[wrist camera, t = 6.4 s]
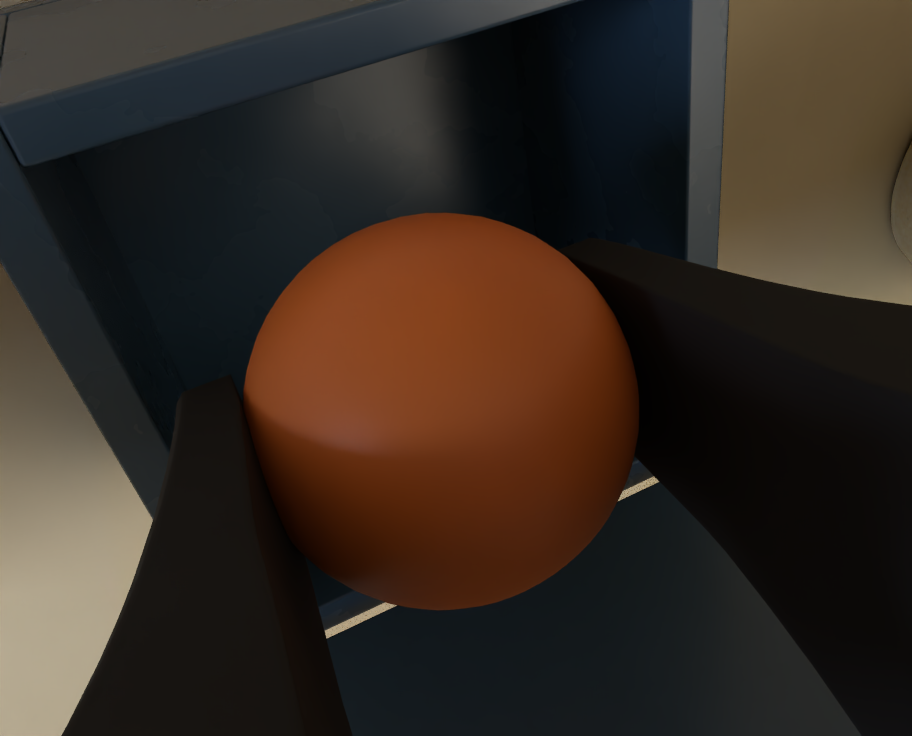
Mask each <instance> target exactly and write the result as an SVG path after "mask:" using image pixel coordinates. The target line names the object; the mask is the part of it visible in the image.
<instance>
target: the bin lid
mask: <svg viewBox="0 0 912 736" xmlns="http://www.w3.org/2000/svg"><path fill="white" fill-rule="evenodd" d="M327 643H328V647H329V651H330V655H331V658H332V662H333V666H334V670H335V674H336V678H337V682H338V686H339V690H340V694H341V697H342V701H343V705H344V708H345V711H346V715H347V718H348V721H349V725H350V728H351V731H352V735H353V736H861V734H860V733H859V731H858V730H857V728H856V727H855V726H854V724H853V723H852V721H851V720H850V718H849V717H848V716H847V714H846V713H845V711H844V710H843V708H842V707H841V706H840V704H839V703H838V701H837V700H836V698H835V697H834V695H833V694H832V693H831V691H830V690H829V688H828V687H827V685H826V684H825V683H824V681H823V680H822V678H821V677H820V675H819V674H818V673H817V671H816V670H815V668H814V667H813V665H812V664H811V663H810V661H809V660H808V659H807V657H806V656H805V655H804V653H803V652H802V651H801V649H800V648H799V647H798V645H797V644H796V643H795V641H794V640H793V639H792V637H791V636H790V634H789V633H788V632H787V630H786V629H785V628H784V626H783V625H782V624H781V622H780V621H779V620H778V618H777V617H776V616H775V614H774V613H773V612H772V610H771V609H770V608H769V606H768V605H767V604H766V602H765V601H764V600H763V599H762V597H761V596H760V595H759V593H758V592H757V591H756V590H755V588H754V587H753V586H752V585H751V583H750V582H749V581H748V579H747V578H746V577H745V576H744V574H743V573H742V572H741V571H740V569H739V568H738V567H737V565H736V564H735V563H734V562H733V560H732V559H731V558H730V557H729V555H728V554H727V553H726V551H725V550H724V549H723V548H722V547H721V546H720V545H719V544H718V542H717V541H716V540H715V539H714V538H713V537H712V536H711V535H710V533H709V532H708V531H707V530H706V529H705V528H704V527H703V526H702V525H701V524H700V523H699V522H698V520H697V519H696V518H695V517H694V516H693V515H692V514H691V513H690V512H689V511H688V510H687V509H686V508H685V507H684V506H683V505H682V504H681V503H680V502H679V501H678V500H677V499H676V498H675V497H674V496H673V495H672V494H671V493H670V492H669V491H668V490H667V489H666V488H665V487H664V486H663V485H662V484H661V483H660V482H658V483H656V484H654V485H652V486H650V487H648V488H646V489H643V490H641V491H639V492H637V493H635V494H633V495H631V496H629V497H626V498H624V499H622V500H620V501H618V502H617V504H616V506H615V507H614V509H613V511H612V513H611V515H610V516H609V518H608V520H607V521H606V522H605V524H604V525H603V527H602V528H601V530H600V531H599V532H598V533H597V535H596V536H595V537H594V538H593V540H592V541H591V542H590V543H589V544H588V545H587V546H586V547H585V548H584V549H583V550H582V551H581V552H580V553H579V554H578V555H577V556H576V557H575V558H574V559H573V560H572V561H570V562H569V563H568V564H567V565H566V566H564V567H563V568H562V569H560V570H559V571H558V572H556V573H555V574H554V575H552V576H551V577H549V578H548V579H546V580H544V581H543V582H541V583H540V584H538V585H536V586H534V587H532V588H530V589H528V590H527V591H524V592H522V593H520V594H518V595H515V596H513V597H511V598H508V599H505V600H502V601H499V602H496V603H492V604H488V605H484V606H478V607H471V608H464V609H455V610H427V609H417V608H410V607H403V606H399V605H397V606H395V607H393V608H391V609H389V610H387V611H385V612H383V613H380V614H378V615H376V616H374V617H372V618H370V619H368V620H366V621H363V622H361V623H359V624H357V625H355V626H353V627H351V628H349V629H347V630H344V631H342V632H340V633H338V634H336V635H334V636H332V637H330V638H327Z"/></svg>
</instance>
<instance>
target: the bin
mask: <svg viewBox="0 0 912 736" xmlns="http://www.w3.org/2000/svg"><path fill="white" fill-rule="evenodd" d="M728 15H729V0H33V1H29V2H25V3H21V4H17V5H13V6H10V7H6V8H2V9H0V263H1V264H2V266H3V268H4V269H5V271H6V273H7V274H8V276H9V278H10V280H11V281H12V283H13V285H14V286H15V288H16V290H17V291H18V293H19V295H20V296H21V298H22V300H23V301H24V303H25V305H26V307H27V308H28V310H29V312H30V313H31V315H32V317H33V318H34V320H35V322H36V323H37V325H38V327H39V328H40V330H41V332H42V333H43V335H44V337H45V339H46V340H47V342H48V344H49V345H50V347H51V349H52V350H53V352H54V354H55V355H56V357H57V359H58V360H59V362H60V364H61V365H62V367H63V369H64V371H65V372H66V374H67V376H68V377H69V379H70V381H71V382H72V384H73V386H74V387H75V389H76V391H77V392H78V394H79V396H80V397H81V399H82V401H83V403H84V404H85V406H86V408H87V409H88V411H89V413H90V414H91V416H92V418H93V419H94V421H95V423H96V424H97V426H98V428H99V430H100V431H101V433H102V435H103V436H104V438H105V440H106V441H107V443H108V445H109V446H110V448H111V450H112V451H113V453H114V455H115V456H116V458H117V460H118V462H119V463H120V465H121V467H122V468H123V470H124V472H125V473H126V475H127V477H128V478H129V480H130V482H131V483H132V485H133V487H134V488H135V490H136V492H137V494H138V495H139V497H140V499H141V500H142V502H143V504H144V505H145V507H146V509H147V510H148V512H149V514H150V515H151V517H152V519H153V518H154V515H155V511H156V507H157V503H158V499H159V496H160V492H161V488H162V484H163V480H164V476H165V472H166V468H167V463H168V458H169V453H170V448H171V443H172V438H173V431H174V425H175V417H176V406H177V402H178V400H179V398H180V396H181V394H182V392H184V391H187V390H190V389H192V388H195V387H198V386H200V385H203V384H206V383H208V382H211V381H213V380H216V379H219V378H221V377H224V376H227V375H229V374H231V377H232V379H233V381H234V384H235V386H236V388H237V390H238V393H239V395H240V397H241V400H242V402H243V390H244V384H245V378H246V371H247V367H248V364H249V360H250V357H251V354H252V350H253V347H254V344H255V341H256V338H257V335H258V333H259V331H260V329H261V327H262V325H263V323H264V320H265V318H266V316H267V315H268V313H269V312H270V310H271V308H272V307H273V305H274V304H275V302H276V301H277V299H278V298H279V296H280V295H281V293H282V292H283V291H284V290H285V288H286V287H287V286H288V285H289V284H290V282H291V281H292V280H293V279H294V278H295V276H296V275H297V274H298V273H299V272H300V271H301V270H302V269H303V268H304V267H306V266H307V265H308V264H309V263H310V262H311V261H312V260H313V259H314V258H315V257H317V256H318V255H319V254H321V253H322V252H323V251H325V250H326V249H328V248H329V247H330V246H332V245H333V244H335V243H336V242H338V241H340V240H342V239H344V238H345V237H347V236H349V235H351V234H352V233H355V232H357V231H359V230H362V229H364V228H366V227H369V226H371V225H374V224H377V223H381V222H384V221H388V220H391V219H395V218H398V217H402V216H408V215H415V214H422V213H456V214H465V215H473V216H481V217H485V218H488V219H492V220H496V221H499V222H503V223H505V224H508V225H511V226H514V227H516V228H518V229H521V230H523V231H525V232H527V233H529V234H532V235H534V236H536V237H537V238H539V239H540V240H542V241H543V242H545V243H547V244H548V245H550V246H551V247H553V248H554V249H556V250H559V249H561V248H564V247H567V246H569V245H572V244H575V243H577V242H580V241H583V240H585V239H588V238H597V239H602V240H607V241H612V242H616V243H620V244H625V245H629V246H632V247H636V248H640V249H644V250H648V251H651V252H655V253H659V254H663V255H666V256H670V257H674V258H677V259H681V260H685V261H688V262H692V263H696V264H700V265H703V266H707V267H711V268H715V269H717V260H718V237H719V215H720V193H721V171H722V148H723V126H724V104H725V82H726V59H727V37H728ZM653 476H654V475H653V474H652V473H651V472H650V471H649V470H648V469H647V468H646V467H645V466H644V465H643V464H642V463H641V462H640V461H639V460H638V459H637V458H636V457H635V456H634V459H633V463H632V467H631V470H630V473H629V476H628V480H627V482H626V484H625V486H624V489H623V491H624V490H626V489H628V488H630V487H632V486H634V485H636V484H638V483H641V482H643V481H645V480H647V479H649V478H651V477H653ZM305 558H306V562H307V565H308V569H309V573H310V577H311V581H312V585H313V588H314V592H315V596H316V600H317V604H318V608H319V612H320V616H321V619H322V623H323V627H324V631H325V630H327V629H329V628H331V627H333V626H336V625H338V624H340V623H342V622H344V621H346V620H348V619H350V618H353V617H355V616H357V615H359V614H361V613H363V612H365V611H368V610H370V609H372V608H374V607H376V606H378V605H380V604H382V603H385V602H384V601H381V600H378V599H375V598H372V597H370V596H367V595H364V594H362V593H359V592H356V591H355V590H353V589H351V588H349V587H348V586H346V585H344V584H342V583H341V582H339V581H337V580H336V579H334V578H332V577H331V576H329V575H327V574H326V573H324V572H323V571H322V570H321V569H319V568H318V567H317V566H316V565H315V564H313V563H312V562H311V561H310V560H309V559H308V558H307V557H306V556H305Z"/></svg>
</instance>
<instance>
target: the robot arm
mask: <svg viewBox="0 0 912 736" xmlns="http://www.w3.org/2000/svg"><path fill="white" fill-rule="evenodd" d="M557 251H558V252H560V253H561V254H563V255H564V256H566V257H567V258H568V259H569V260H570V261H571V262H572V263H573V264H574V265H575V266H576V267H577V268H578V269H579V270H580V271H581V272H582V273H583V274H584V275H585V276H586V277H587V278H588V279H589V280H590V281H591V282H592V283H593V284H594V285H595V287H596V288H597V289H598V291H599V292H600V294H601V295H602V296H603V298H604V299H605V301H606V302H607V304H608V305H609V307H610V308H611V310H612V311H613V313H614V315H615V317H616V319H617V321H618V323H619V325H620V327H621V329H622V332H623V334H624V336H625V339H626V341H627V343H628V346H629V349H630V353H631V356H632V360H633V364H634V368H635V373H636V378H637V383H638V393H639V432H638V438H637V443H636V449H635V454H634V456H635V457H636V458H637V459H638V460H639V461H640V462H641V463H642V464H643V465H644V466H645V467H646V468H647V469H648V470H649V471H650V472H651V473H652V474H653V475H654V477H655V478H656V479H657V480H658V481H659V482H660V483H661V484H662V485H663V486H664V487H665V488H666V489H667V490H668V491H669V492H670V493H671V494H672V495H673V496H674V497H675V498H676V499H677V500H678V501H679V502H680V503H681V504H682V505H683V506H684V507H685V508H686V509H687V510H688V511H689V512H690V513H691V514H692V515H693V516H694V517H695V518H696V519H697V520H698V522H699V523H700V524H701V525H702V526H703V527H704V528H705V529H706V530H707V531H708V532H709V533H710V535H711V536H712V537H713V538H714V539H715V540H716V541H717V542H718V544H719V545H720V546H721V547H722V548H723V549H724V550H725V551H726V553H727V554H728V555H729V557H730V558H731V559H732V560H733V562H734V563H735V564H736V565H737V567H738V568H739V569H740V571H741V572H742V573H743V574H744V576H745V577H746V578H747V579H748V581H749V582H750V583H751V585H752V586H753V587H754V588H755V590H756V591H757V592H758V593H759V595H760V596H761V597H762V599H763V600H764V601H765V602H766V604H767V605H768V606H769V608H770V609H771V610H772V612H773V613H774V614H775V616H776V617H777V618H778V620H779V621H780V622H781V624H782V625H783V626H784V628H785V629H786V630H787V632H788V633H789V634H790V636H791V637H792V639H793V640H794V641H795V643H796V644H797V645H798V647H799V648H800V649H801V651H802V652H803V653H804V655H805V656H806V657H807V659H808V660H809V661H810V663H811V664H812V665H813V667H814V668H815V670H816V671H817V673H818V674H819V675H820V677H821V678H822V680H823V681H824V683H825V684H826V685H827V687H828V688H829V690H830V691H831V693H832V694H833V695H834V697H835V698H836V700H837V701H838V703H839V704H840V706H841V707H842V708H843V710H844V711H845V713H846V714H847V716H848V717H849V718H850V720H851V721H852V723H853V724H854V726H855V727H856V728H857V730H858V731H859V733H860V734H861V736H912V306H911V305H902V304H895V303H888V302H881V301H873V300H866V299H859V298H852V297H845V296H839V295H833V294H828V293H822V292H817V291H812V290H807V289H802V288H797V287H792V286H788V285H783V284H778V283H773V282H768V281H764V280H760V279H755V278H751V277H747V276H743V275H739V274H735V273H731V272H727V271H723V270H719V269H715V268H711V267H707V266H703V265H700V264H696V263H692V262H688V261H685V260H681V259H677V258H674V257H670V256H666V255H663V254H659V253H655V252H651V251H648V250H644V249H640V248H636V247H632V246H629V245H625V244H620V243H616V242H612V241H607V240H602V239H597V238H588V239H585V240H583V241H580V242H577V243H575V244H572V245H569V246H567V247H564V248H561V249H559V250H557ZM62 736H353V735H352V731H351V728H350V725H349V721H348V718H347V715H346V711H345V708H344V705H343V701H342V697H341V694H340V690H339V686H338V682H337V678H336V674H335V670H334V666H333V662H332V658H331V655H330V651H329V647H328V643H327V639H326V635H325V631H324V627H323V623H322V619H321V616H320V612H319V608H318V604H317V600H316V596H315V592H314V588H313V585H312V581H311V577H310V573H309V569H308V565H307V562H306V558H305V556H304V555H303V554H302V553H301V552H300V551H299V550H298V549H297V548H296V547H295V546H294V544H293V543H292V542H291V540H290V539H289V537H288V535H287V533H286V531H285V529H284V527H283V525H282V522H281V520H280V517H279V515H278V513H277V510H276V508H275V505H274V503H273V500H272V498H271V495H270V492H269V490H268V487H267V484H266V481H265V478H264V475H263V472H262V469H261V466H260V463H259V460H258V457H257V454H256V450H255V447H254V444H253V440H252V437H251V433H250V430H249V426H248V422H247V419H246V416H245V413H244V410H243V402H242V400H241V397H240V395H239V393H238V390H237V388H236V386H235V384H234V381H233V379H232V377H231V374H229V375H227V376H224V377H221V378H219V379H216V380H213V381H211V382H208V383H206V384H203V385H200V386H198V387H195V388H192V389H190V390H187V391H184V392H182V394H181V396H180V398H179V400H178V402H177V406H176V417H175V425H174V431H173V438H172V443H171V448H170V453H169V458H168V463H167V468H166V472H165V476H164V480H163V484H162V488H161V492H160V496H159V499H158V503H157V507H156V511H155V515H154V518H153V522H152V525H151V528H150V531H149V534H148V537H147V540H146V543H145V546H144V549H143V552H142V555H141V558H140V561H139V564H138V567H137V570H136V573H135V576H134V579H133V582H132V585H131V587H130V590H129V592H128V595H127V598H126V600H125V603H124V605H123V608H122V610H121V613H120V615H119V618H118V620H117V622H116V625H115V627H114V629H113V632H112V634H111V636H110V638H109V641H108V643H107V645H106V647H105V650H104V652H103V654H102V656H101V659H100V661H99V663H98V665H97V667H96V669H95V671H94V673H93V675H92V677H91V679H90V681H89V683H88V685H87V687H86V689H85V691H84V693H83V695H82V697H81V699H80V701H79V703H78V705H77V707H76V709H75V711H74V713H73V715H72V717H71V719H70V721H69V723H68V725H67V727H66V728H65V730H64V732H63V734H62Z"/></svg>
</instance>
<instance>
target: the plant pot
mask: <svg viewBox="0 0 912 736" xmlns="http://www.w3.org/2000/svg"><path fill="white" fill-rule="evenodd" d="M891 225H892V231H893V235H894V238H895V241H896V243H897V245H898V246H899V248H900V249H901V251H902V252H903V253H904V254H905V256H906V257H907V258H908V260H909V261H910V262H911V263H912V142H911V144H910V146H909V149H908V151H907V153H906V155H905V157H904V159H903V162H902V165H901V168H900V171H899V173H898V176H897V179H896V183H895V187H894V191H893V195H892V204H891Z"/></svg>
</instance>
